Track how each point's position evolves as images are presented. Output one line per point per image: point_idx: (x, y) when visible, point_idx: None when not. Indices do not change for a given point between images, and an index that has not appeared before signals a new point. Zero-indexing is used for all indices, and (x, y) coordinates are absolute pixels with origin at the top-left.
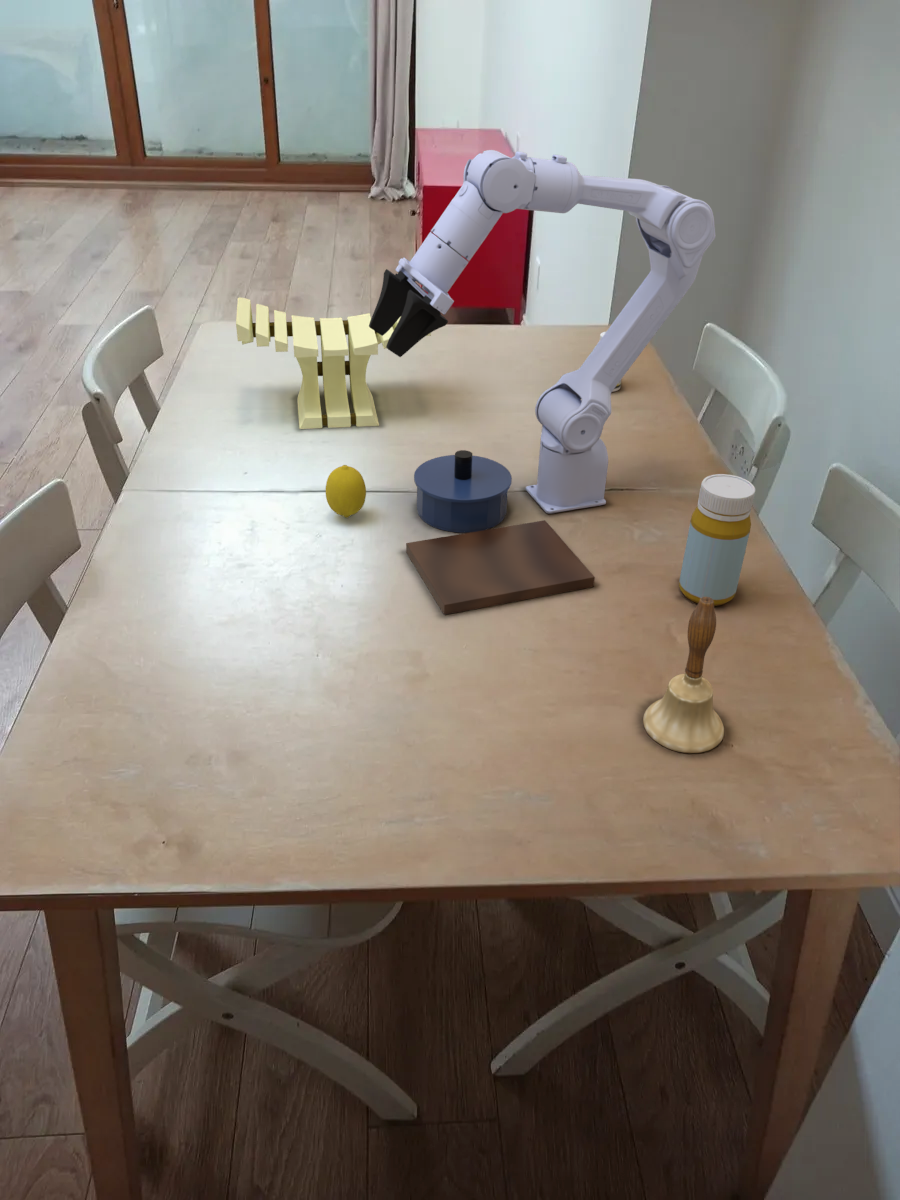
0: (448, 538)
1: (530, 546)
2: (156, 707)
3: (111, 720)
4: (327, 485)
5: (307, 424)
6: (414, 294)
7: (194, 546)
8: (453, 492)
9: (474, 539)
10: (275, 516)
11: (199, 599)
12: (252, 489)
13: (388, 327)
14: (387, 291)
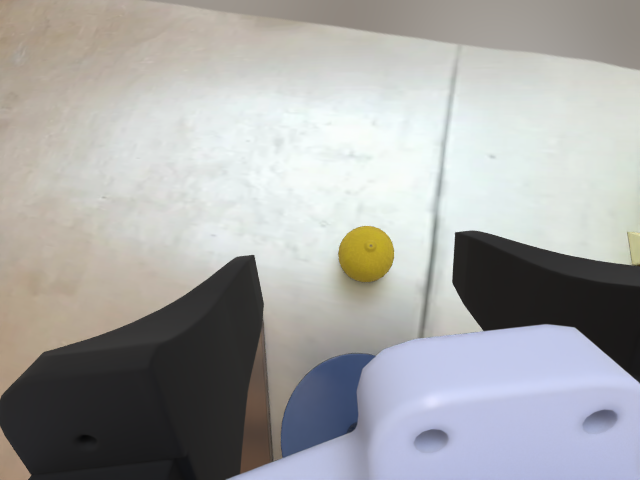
0: (257, 376)
1: None
2: (83, 72)
3: (81, 44)
4: (362, 226)
5: (635, 242)
6: (27, 379)
7: (327, 101)
8: (308, 406)
9: (247, 413)
10: (377, 181)
11: (227, 104)
12: (448, 161)
13: (468, 302)
14: (562, 286)
